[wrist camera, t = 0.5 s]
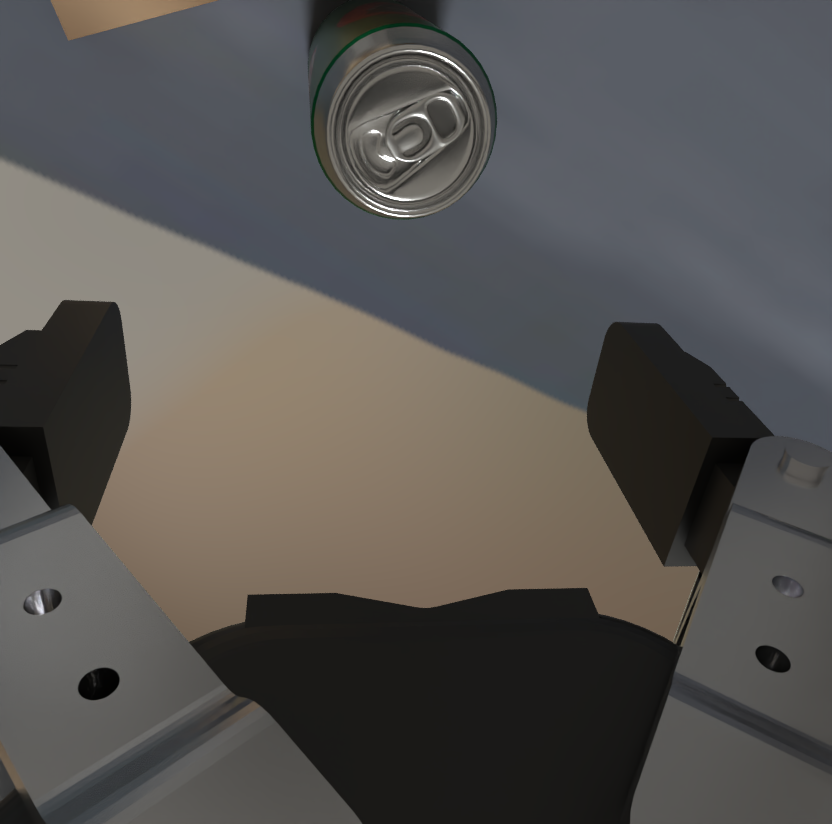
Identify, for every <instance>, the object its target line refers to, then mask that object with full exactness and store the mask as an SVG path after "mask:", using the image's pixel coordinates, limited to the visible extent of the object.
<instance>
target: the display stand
mask: <svg viewBox="0 0 832 824" xmlns="http://www.w3.org/2000/svg"><path fill="white" fill-rule="evenodd" d="M213 1H217V0H51V2H52V4H53V6H54V9H55V11H56V13H57V16H58V18H59V20H60V22H61V25H62V27H63V29H64V31H65V34H66V36H67V38H68V40H72V39H76V38H80V37H83V36H87V35H91V34H95V33H98V32H102V31H106V30H109V29H113V28H117V27H121V26H124V25H128V24H132V23H135V22H139V21H143V20H146V19H150V18H154V17H158V16H161V15H165V14H169V13H172V12H176V11H180V10H184V9H187V8H191V7H195V6H198V5H202V4H206V3H210V2H213Z"/></svg>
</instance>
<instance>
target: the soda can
mask: <svg viewBox="0 0 832 824" xmlns="http://www.w3.org/2000/svg"><path fill="white" fill-rule="evenodd" d="M308 81H309V100H310V119H311V135H312V140H313V146H314V150H315V153H316V156H317V159H318V162H319V164H320V166H321V168H322V170H323V172H324V174H325V176H326V177H327V179H328V180H329V181H330V183H331V184H332V185H333V187H334V188H335V189H336V190H337V191H338V192H339V193H340V194H341V195H342V196H343V197H344V198H345V199H346V200H348V201H349V202H350V203H352V204H353V205H354V206H356V207H358V208H360V209H362V210H364V211H365V212H367V213H370V214H373V215H376V216H379V217H383V218H389V219H395V220H409V219H416V218H422V217H425V216H429V215H432V214H435V213H437V212H439V211H441V210H443V209H445V208H447V207H449V206H450V205H452V204H453V203H455V202H456V201H458V200H459V199H460V198H461V197H462V196H463V195H465V194H466V193H467V192H468V191H469V190H470V189H471V187H472V186H473V185H474V184H475V182H476V181H477V180H478V179H479V177H480V175H481V174H482V172H483V170H484V169H485V167H486V165H487V163H488V160H489V158H490V155H491V153H492V149H493V145H494V141H495V137H496V127H497V112H496V103H495V98H494V93H493V90H492V87H491V84H490V81H489V79H488V76H487V74H486V73H485V71H484V69H483V67H482V65H481V64H480V62H479V61H478V60H477V58H476V57H475V56H474V55H473V53H472V52H471V51H470V50H469V49H468V48H467V47H466V46H465V45H464V44H462V43H461V42H460V41H459V40H457V39H456V38H454V37H453V36H451V35H450V34H448V33H447V32H445V31H443V30H442V29H440V28H439V27H437V26H436V25H434V24H433V23H431V22H429V21H428V20H426V19H425V18H423V17H422V16H420V15H418V14H417V13H415V12H414V11H412V10H411V9H409V8H407V7H406V6H404V5H403V4H401V3H399V2H397V1H394V0H350V1H348V2H346V3H344V4H342V5H340V6H339V7H337V8H336V9H335V10H333V11H332V12H331V13H330V14H329V15H328V16H327V17H326V18H325V19H324V21H323V22H322V23H321V25H320V26H319V28H318V30H317V31H316V34H315V36H314V38H313V40H312V43H311V47H310V51H309V58H308Z"/></svg>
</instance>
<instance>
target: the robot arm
mask: <svg viewBox="0 0 832 824" xmlns="http://www.w3.org/2000/svg"><path fill="white" fill-rule="evenodd" d="M130 413H131V391H130V383H129V375H128V367H127V359H126V352H125V344H124V336H123V328H122V320H121V315H120V311H119V308H118V305H117V304H116V303H115V302H99V301H97V302H96V301H72V300H71V301H70V300H64V301H62V302H61V303H60V305H59V306H58V308H57V309H56V311H55V312H54V313H53V315H52V317H51V318H50V319H49V321H48V322H47V324H46V325H45V327H44V328H43V329H42V331H39V330H26V331H24V332H22V333H21V334H19V335H17V336H15V337H14V338H12V339H10V340H8V341H6V342H5V343H3V344H1V345H0V824H832V452H830V451H828V450H826V449H824V448H822V447H820V446H818V445H815V444H812V443H810V442H807V441H803V440H800V439H795V438H791V437H783V436H774V435H773V434H772V432H771V431H770V430H769V429H768V428H767V427H766V426H765V425H764V424H763V423H762V422H761V421H760V420H759V419H758V417H757V416H756V415H755V414H754V413H753V412H752V411H751V410H750V409H749V408H748V407H747V406H746V405H745V404H744V402H743V401H739V397H738V396H737V395H736V394H735V393H734V392H733V391H732V390H731V388H730V387H726V383H725V382H724V381H723V380H722V379H721V378H720V377H719V376H718V375H717V373H716V372H715V371H714V370H713V369H712V368H711V367H710V366H708V365H706V364H705V363H703V362H701V361H700V360H698V359H696V358H695V357H693V356H691V355H690V354H688V353H686V352H684V351H683V350H682V349H681V348H680V346H679V345H678V344H677V343H676V342H675V341H674V340H673V339H672V338H671V336H670V335H669V334H668V333H667V332H666V331H665V330H664V329H663V328H662V326H660V325H659V324H656V323H629V322H614V323H613V324H611V325H610V327H609V328H608V330H607V332H606V335H605V338H604V342H603V346H602V350H601V354H600V358H599V362H598V365H597V369H596V373H595V377H594V381H593V385H592V389H591V393H590V396H589V401H588V407H587V423H588V429H589V433H590V435H591V437H592V439H593V441H594V443H595V444H596V446H597V448H598V450H599V451H600V454H601V455H602V457H603V459H604V461H605V462H606V464H607V466H608V468H609V469H610V471H611V473H612V475H613V477H614V478H615V480H616V482H617V484H618V486H619V487H620V489H621V491H622V493H623V494H624V496H625V498H626V500H627V502H628V503H629V505H630V507H631V509H632V511H633V512H634V514H635V516H636V518H637V519H638V521H639V523H640V524H641V526H642V528H643V530H644V532H645V533H646V535H647V537H648V539H649V541H650V542H651V544H652V546H653V548H654V550H655V551H656V553H657V555H658V557H659V558H660V560H661V562H662V564H663V566H697V567H698V568H699V570H700V571H699V574H698V576H697V579H696V581H695V584H694V586H693V588H692V591H691V594H690V596H689V599H688V602H687V605H686V608H685V610H684V613H683V615H682V618H681V621H680V624H679V626H678V629H677V632H676V635H675V637H674V640H673V642H671V641H670V640H668V639H666V638H665V637H663V636H661V635H658V634H656V633H654V632H652V631H650V630H648V629H646V628H643V627H641V626H638V625H635V624H633V623H630V622H627V621H624V620H621V619H617V618H614V617H610V616H606V615H601V614H598V612H597V610H596V608H595V605H594V603H593V601H592V598H591V596H590V593H589V591H588V589H587V588H568V589H567V588H566V589H518V590H517V589H516V590H515V589H514V590H505V591H501V592H496V593H492V594H488V595H484V596H480V597H476V598H471V599H467V600H463V601H459V602H455V603H450V604H446V605H442V606H438V607H433V608H418V607H412V606H406V605H400V604H395V603H389V602H383V601H378V600H372V599H366V598H360V597H355V596H350V595H344V594H338V593H316V594H315V593H314V594H264V595H248V598H247V610H246V619H245V622H243V623H239V624H235V625H231V626H228V627H225V628H222V629H219V630H216V631H213V632H210V633H208V634H206V635H203V636H201V637H199V638H197V639H195V640H193V641H190V642H188V641H187V640H186V638H185V637H184V636H183V635H182V634H181V633H180V631H179V630H178V629H177V628H176V626H175V625H174V624H173V623H172V622H171V620H170V619H169V618H168V617H167V616H166V614H165V613H164V612H163V611H162V610H161V608H160V607H159V606H158V605H157V604H156V602H155V601H154V600H153V599H152V598H151V596H150V595H149V594H148V593H147V592H146V590H145V589H144V588H143V587H142V586H141V585H140V583H139V582H138V581H137V580H136V578H135V577H134V576H133V575H132V574H131V572H130V571H129V570H128V569H127V568H126V566H125V565H124V564H123V563H122V562H121V561H120V559H119V558H118V557H117V556H116V554H115V553H114V552H113V551H112V550H111V548H110V547H109V546H108V545H107V544H106V543H105V541H104V540H103V539H102V538H101V537H100V535H99V534H98V533H97V532H96V531H95V529H94V528H93V527H92V523H93V520H94V518H95V515H96V512H97V510H98V507H99V504H100V502H101V499H102V496H103V494H104V491H105V488H106V486H107V483H108V480H109V478H110V475H111V472H112V470H113V467H114V464H115V462H116V459H117V456H118V454H119V451H120V448H121V446H122V443H123V440H124V438H125V435H126V432H127V430H128V426H129V421H130Z"/></svg>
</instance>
